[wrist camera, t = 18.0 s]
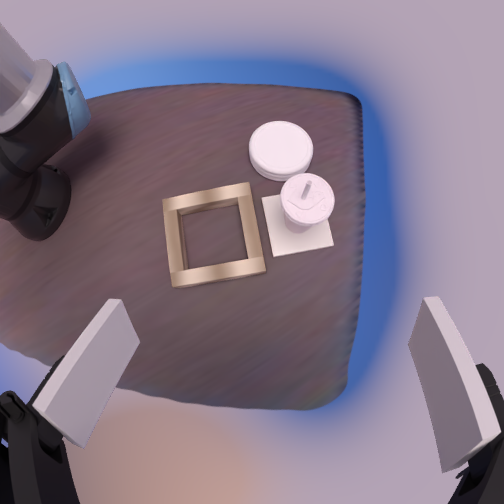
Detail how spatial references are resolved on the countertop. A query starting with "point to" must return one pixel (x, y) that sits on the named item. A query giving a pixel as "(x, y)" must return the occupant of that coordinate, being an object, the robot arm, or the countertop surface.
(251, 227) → the square wooden frame
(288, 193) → the smoothie
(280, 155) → the coaster
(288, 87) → the countertop surface
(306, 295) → the countertop surface
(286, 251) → the tile
